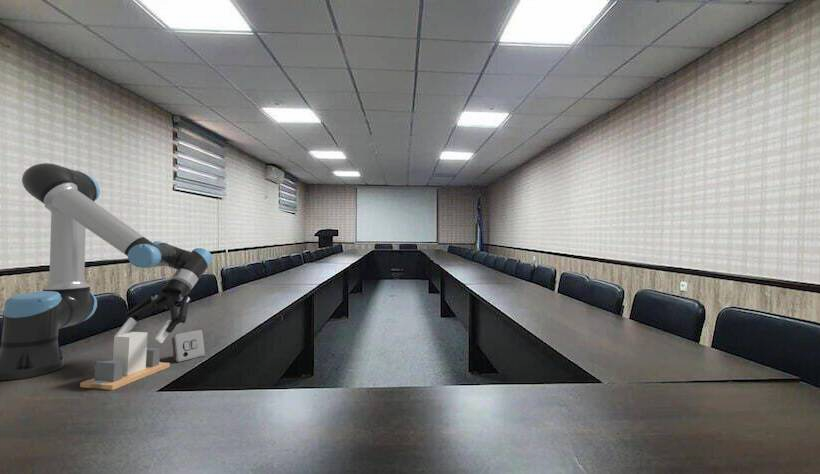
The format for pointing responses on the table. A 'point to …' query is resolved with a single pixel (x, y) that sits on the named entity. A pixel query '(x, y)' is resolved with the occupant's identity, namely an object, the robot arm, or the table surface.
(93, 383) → the board
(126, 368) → the block
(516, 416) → the table surface
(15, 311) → the robot arm
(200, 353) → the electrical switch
